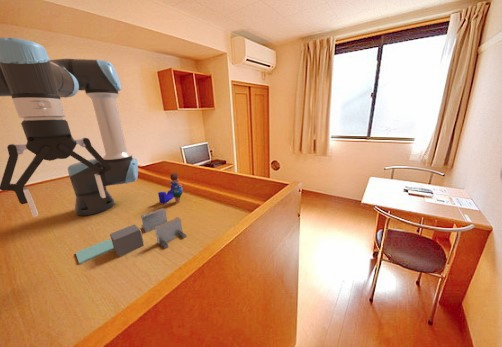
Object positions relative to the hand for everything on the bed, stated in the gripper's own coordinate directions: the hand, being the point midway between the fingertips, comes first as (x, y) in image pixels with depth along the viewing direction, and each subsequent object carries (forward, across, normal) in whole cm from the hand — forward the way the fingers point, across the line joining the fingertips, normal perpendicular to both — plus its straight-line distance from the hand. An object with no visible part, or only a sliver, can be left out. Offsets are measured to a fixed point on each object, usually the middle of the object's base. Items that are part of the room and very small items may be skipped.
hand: (72, 205), depth 51 cm
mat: (+19, +2, +7) cm, 20 cm away
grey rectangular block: (+19, +10, 0) cm, 21 cm away
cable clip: (+19, +36, +28) cm, 49 cm away
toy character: (+19, +37, +19) cm, 46 cm away
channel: (+19, +21, 0) cm, 28 cm away
